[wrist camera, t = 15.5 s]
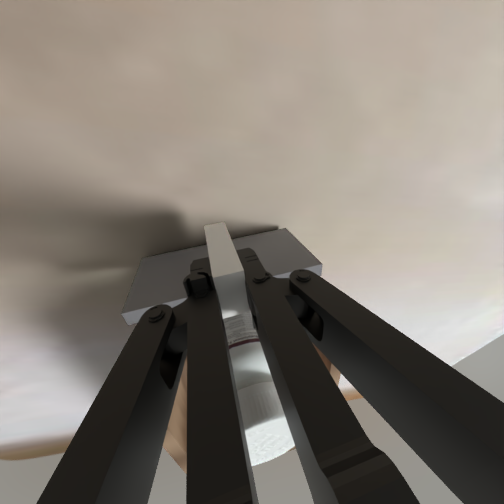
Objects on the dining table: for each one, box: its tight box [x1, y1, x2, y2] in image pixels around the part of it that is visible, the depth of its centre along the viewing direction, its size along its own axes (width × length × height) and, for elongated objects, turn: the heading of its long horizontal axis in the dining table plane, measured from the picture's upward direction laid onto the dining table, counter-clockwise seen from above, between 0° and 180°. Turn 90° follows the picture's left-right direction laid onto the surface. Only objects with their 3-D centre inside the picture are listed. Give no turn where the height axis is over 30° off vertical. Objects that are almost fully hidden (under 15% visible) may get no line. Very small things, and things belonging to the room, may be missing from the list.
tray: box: [121, 228, 322, 325], centre depth 20 cm, size 16×13×6 cm
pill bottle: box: [223, 307, 295, 466], centre depth 15 cm, size 6×6×11 cm
